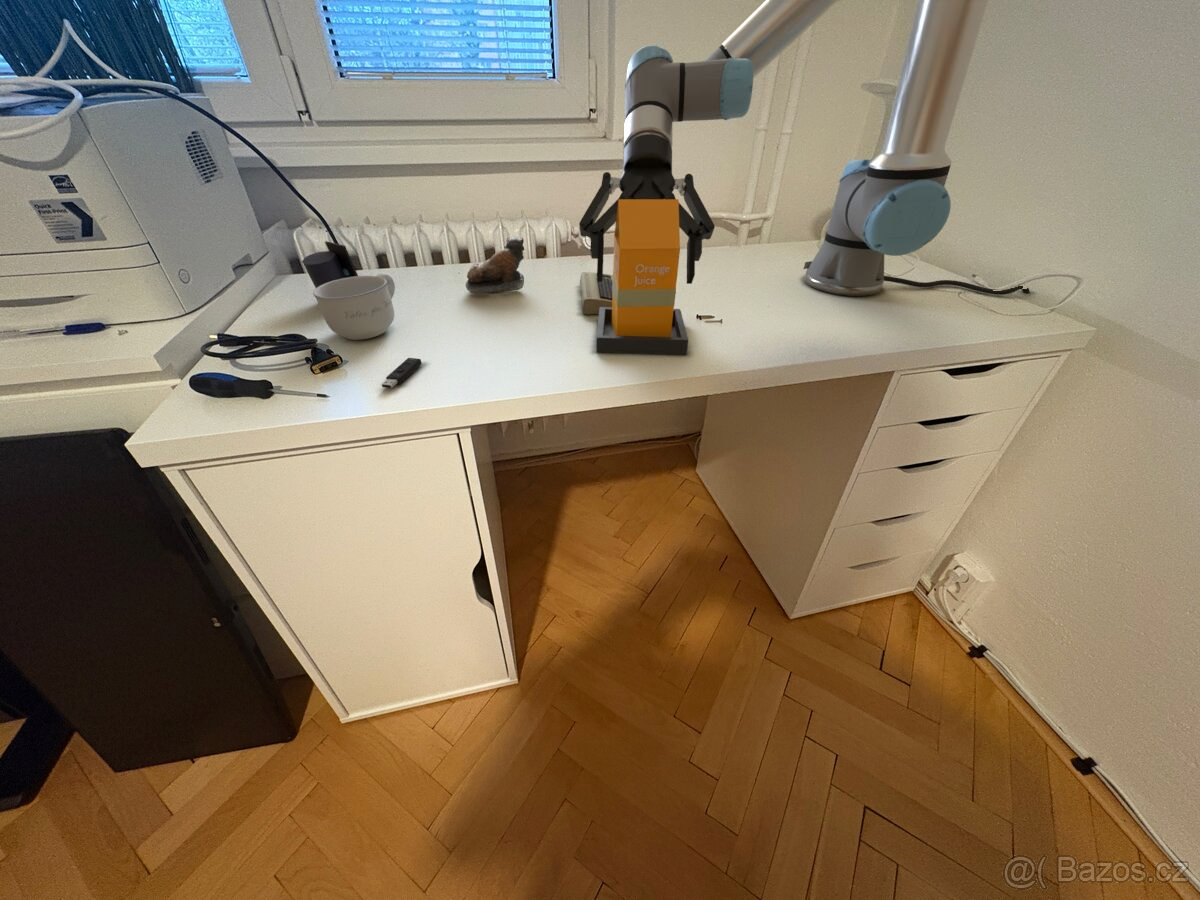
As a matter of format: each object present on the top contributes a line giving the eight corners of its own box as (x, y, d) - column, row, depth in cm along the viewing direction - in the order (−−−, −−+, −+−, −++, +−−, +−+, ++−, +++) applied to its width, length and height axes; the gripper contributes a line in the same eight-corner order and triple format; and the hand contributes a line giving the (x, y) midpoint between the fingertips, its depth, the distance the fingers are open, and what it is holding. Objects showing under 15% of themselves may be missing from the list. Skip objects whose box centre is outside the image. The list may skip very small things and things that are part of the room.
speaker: (359, 291, 95) (338, 236, 88) (369, 300, 92) (347, 245, 84) (319, 302, 92) (294, 247, 85) (327, 313, 88) (302, 256, 81)
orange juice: (611, 324, 82) (614, 194, 70) (661, 323, 83) (674, 194, 71) (615, 344, 76) (620, 204, 64) (670, 343, 77) (685, 204, 65)
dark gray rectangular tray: (678, 322, 85) (680, 308, 83) (686, 355, 74) (688, 340, 73) (599, 320, 85) (599, 306, 84) (596, 352, 75) (596, 337, 73)
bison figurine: (467, 300, 93) (458, 244, 86) (466, 288, 98) (458, 235, 92) (529, 295, 95) (525, 241, 89) (525, 284, 100) (521, 232, 94)
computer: (626, 314, 87) (627, 296, 85) (582, 315, 87) (581, 297, 85) (618, 286, 100) (619, 270, 98) (579, 286, 100) (579, 270, 98)
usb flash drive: (394, 390, 64) (392, 383, 64) (380, 388, 65) (378, 382, 64) (422, 364, 71) (420, 357, 70) (409, 362, 71) (408, 356, 70)
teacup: (356, 352, 74) (340, 301, 69) (314, 336, 78) (296, 286, 73) (427, 323, 83) (417, 276, 78) (385, 310, 88) (374, 265, 83)
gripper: (722, 169, 78) (722, 292, 75) (570, 166, 79) (564, 288, 76) (734, 132, 71) (735, 267, 68) (566, 129, 71) (559, 263, 68)
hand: (645, 278), depth 72 cm, fingers open, 13 cm apart
